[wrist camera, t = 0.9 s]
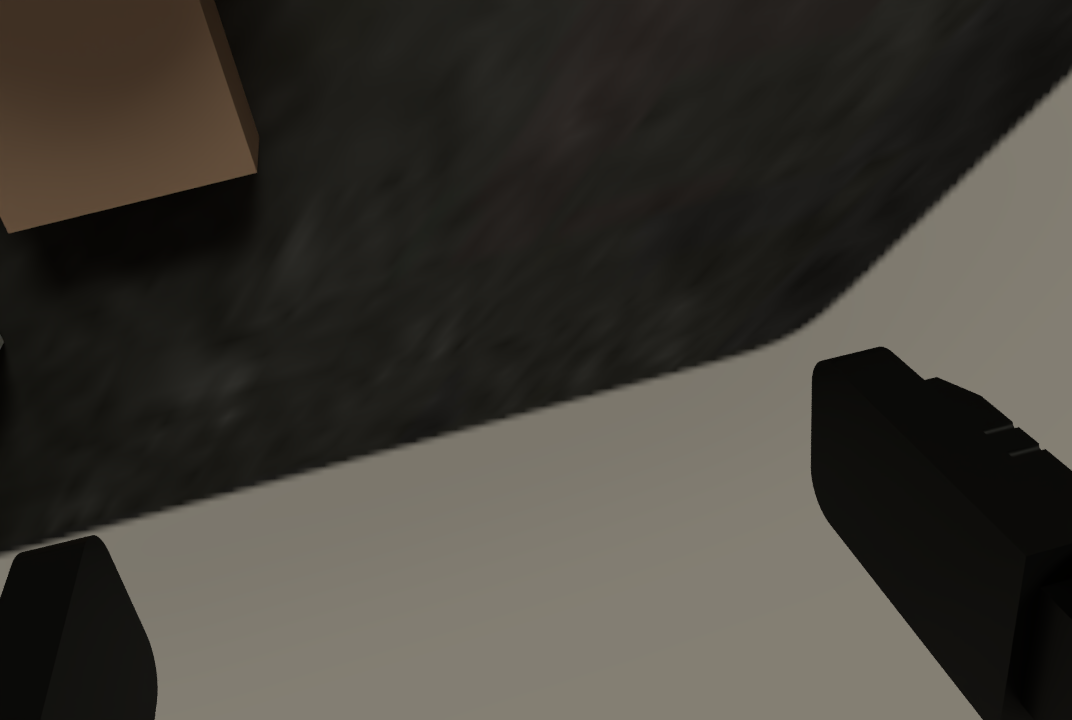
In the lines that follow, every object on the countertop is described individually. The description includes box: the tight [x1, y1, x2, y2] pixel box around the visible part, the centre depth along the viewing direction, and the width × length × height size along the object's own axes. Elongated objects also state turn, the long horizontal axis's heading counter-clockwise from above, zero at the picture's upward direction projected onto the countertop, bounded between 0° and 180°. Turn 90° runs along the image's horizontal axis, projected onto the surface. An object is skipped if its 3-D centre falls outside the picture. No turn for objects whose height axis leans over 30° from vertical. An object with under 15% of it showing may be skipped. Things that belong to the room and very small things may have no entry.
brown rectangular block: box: [0, 0, 259, 233], centre depth 28 cm, size 7×7×4 cm
